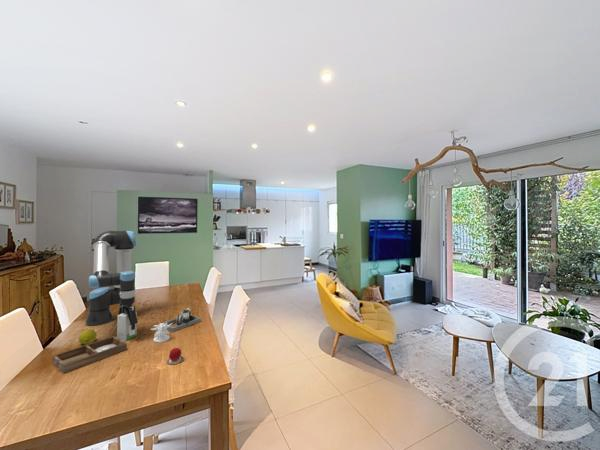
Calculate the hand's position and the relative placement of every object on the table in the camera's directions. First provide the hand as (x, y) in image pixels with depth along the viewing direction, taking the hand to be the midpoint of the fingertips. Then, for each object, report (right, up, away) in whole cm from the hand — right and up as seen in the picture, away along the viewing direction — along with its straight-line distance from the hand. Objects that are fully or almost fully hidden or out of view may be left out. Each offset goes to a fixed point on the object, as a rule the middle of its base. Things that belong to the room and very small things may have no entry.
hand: (126, 332), depth 150 cm
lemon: (-18, -4, -7) cm, 20 cm away
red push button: (+41, -5, -23) cm, 47 cm away
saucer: (0, -3, -16) cm, 16 cm away
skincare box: (0, -4, 0) cm, 4 cm away
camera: (+23, -5, +25) cm, 34 cm away
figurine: (+21, -5, 0) cm, 22 cm away
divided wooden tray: (-4, -4, -21) cm, 22 cm away
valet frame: (+22, -4, +23) cm, 32 cm away
